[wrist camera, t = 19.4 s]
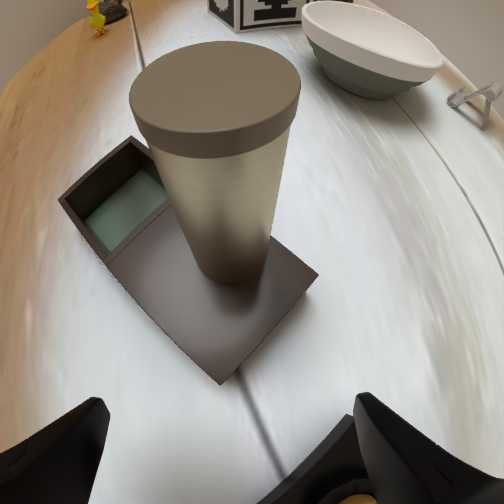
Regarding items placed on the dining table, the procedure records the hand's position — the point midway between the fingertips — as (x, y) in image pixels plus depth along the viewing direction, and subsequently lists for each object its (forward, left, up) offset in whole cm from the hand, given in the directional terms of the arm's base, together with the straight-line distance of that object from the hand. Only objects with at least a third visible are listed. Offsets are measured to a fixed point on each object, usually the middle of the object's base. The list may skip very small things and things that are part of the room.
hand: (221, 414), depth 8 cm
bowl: (+40, +13, -13) cm, 44 cm away
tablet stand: (+54, -4, -13) cm, 55 cm away
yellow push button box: (-2, -13, -12) cm, 18 cm away
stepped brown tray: (+4, +10, -12) cm, 17 cm away
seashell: (+30, +73, -13) cm, 80 cm away
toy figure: (+25, +64, -13) cm, 70 cm away
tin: (+7, +6, -8) cm, 12 cm away
